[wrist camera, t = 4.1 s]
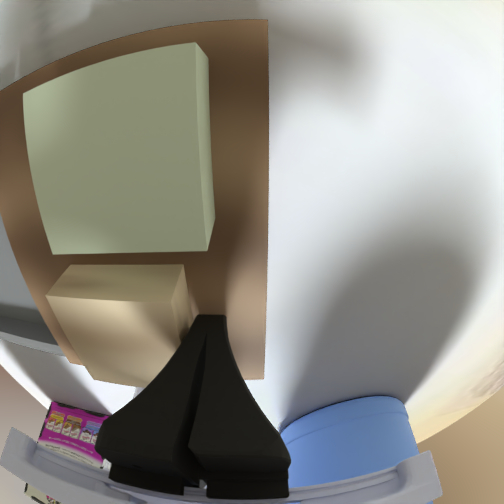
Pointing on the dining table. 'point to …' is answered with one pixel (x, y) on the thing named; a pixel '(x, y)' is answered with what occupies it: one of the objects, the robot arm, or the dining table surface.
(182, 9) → the dining table surface
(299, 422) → the water jug
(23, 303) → the tray
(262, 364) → the walnut board
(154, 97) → the sage tile
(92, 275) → the ash block
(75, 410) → the candy bar box
